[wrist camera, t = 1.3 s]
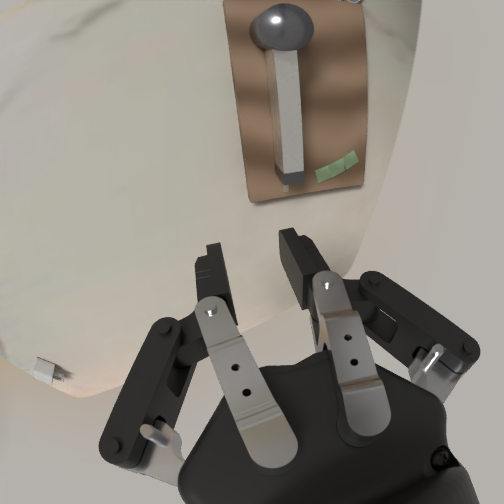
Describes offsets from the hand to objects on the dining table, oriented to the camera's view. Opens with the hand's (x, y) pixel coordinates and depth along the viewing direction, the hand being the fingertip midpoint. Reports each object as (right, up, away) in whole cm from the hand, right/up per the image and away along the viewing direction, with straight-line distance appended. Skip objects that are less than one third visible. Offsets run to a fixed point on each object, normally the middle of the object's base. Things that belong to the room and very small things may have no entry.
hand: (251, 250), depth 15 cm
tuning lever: (+3, +15, +9) cm, 18 cm away
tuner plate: (+5, +16, +11) cm, 20 cm away
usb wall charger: (-42, -24, +30) cm, 57 cm away
